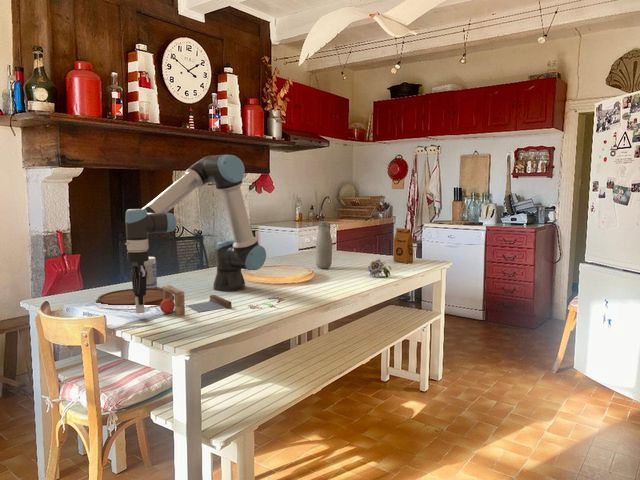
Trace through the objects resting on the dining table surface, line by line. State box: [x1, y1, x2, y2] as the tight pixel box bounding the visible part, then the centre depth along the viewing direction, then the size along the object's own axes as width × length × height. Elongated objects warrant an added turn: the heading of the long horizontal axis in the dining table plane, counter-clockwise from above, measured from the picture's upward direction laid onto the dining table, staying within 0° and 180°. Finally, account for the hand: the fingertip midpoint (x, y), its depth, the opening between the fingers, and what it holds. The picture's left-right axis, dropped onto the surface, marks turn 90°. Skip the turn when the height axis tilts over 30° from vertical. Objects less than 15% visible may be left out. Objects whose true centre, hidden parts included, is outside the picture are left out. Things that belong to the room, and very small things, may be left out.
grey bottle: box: [315, 221, 333, 270], centre depth 288 cm, size 10×10×28 cm
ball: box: [159, 299, 175, 314], centre depth 190 cm, size 6×6×6 cm
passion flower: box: [365, 257, 392, 279], centre depth 266 cm, size 11×11×12 cm
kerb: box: [209, 294, 233, 310], centre depth 203 cm, size 2×16×2 cm, turn 38°
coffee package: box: [393, 227, 415, 264], centre depth 313 cm, size 10×12×22 cm
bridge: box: [162, 284, 186, 317], centre depth 191 cm, size 3×15×9 cm, turn 38°
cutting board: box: [94, 287, 175, 306], centre depth 210 cm, size 32×32×2 cm
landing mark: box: [185, 300, 226, 313], centre depth 200 cm, size 13×13×1 cm
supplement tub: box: [144, 256, 158, 288], centre depth 234 cm, size 10×10×15 cm
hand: (140, 312), depth 183 cm, fingers closed
